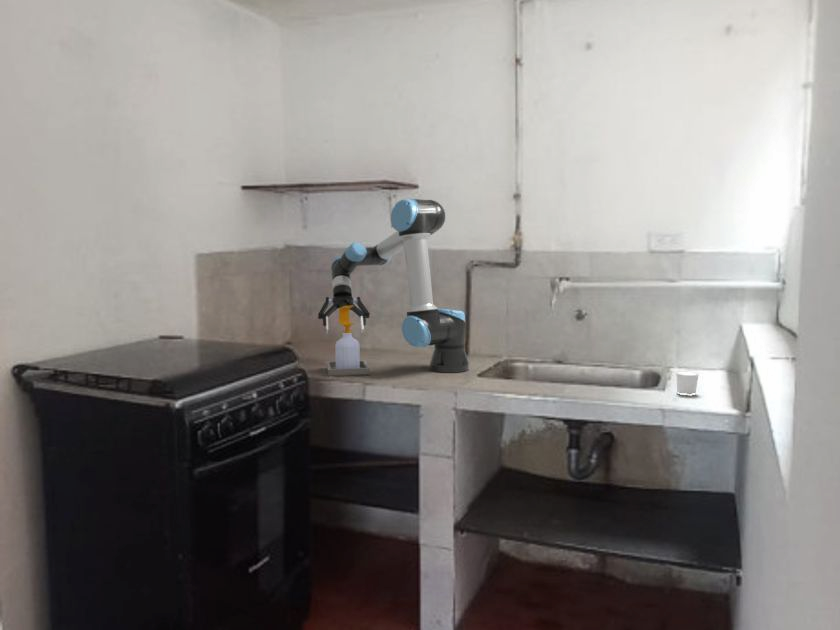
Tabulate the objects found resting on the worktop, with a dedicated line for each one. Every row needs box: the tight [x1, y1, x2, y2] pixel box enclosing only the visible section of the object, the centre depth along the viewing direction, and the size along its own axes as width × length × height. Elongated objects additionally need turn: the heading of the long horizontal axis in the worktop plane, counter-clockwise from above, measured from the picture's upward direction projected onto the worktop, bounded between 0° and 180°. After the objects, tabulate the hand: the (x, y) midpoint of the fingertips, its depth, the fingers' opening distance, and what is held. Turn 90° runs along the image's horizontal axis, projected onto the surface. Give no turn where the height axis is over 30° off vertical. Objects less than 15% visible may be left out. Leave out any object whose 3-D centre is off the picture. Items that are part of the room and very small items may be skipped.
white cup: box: [675, 371, 699, 394], centre depth 234 cm, size 7×7×7 cm
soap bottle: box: [334, 305, 361, 369], centre depth 267 cm, size 9×9×25 cm
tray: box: [326, 360, 371, 377], centre depth 268 cm, size 15×16×3 cm
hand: (345, 331), depth 277 cm, fingers open, 13 cm apart
